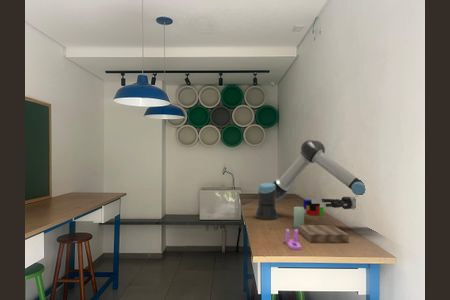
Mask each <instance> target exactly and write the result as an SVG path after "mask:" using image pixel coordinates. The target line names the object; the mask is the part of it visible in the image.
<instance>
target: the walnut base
mask: <svg viewBox="0 0 450 300" xmlns="http://www.w3.org/2000/svg"><path fill="white" fill-rule="evenodd" d="M297 229H298V234H300V235H301V236H302V237H303V238H304V239H305V240H306V241H308V242H309V243H350V242H349V240H350V239H349V238H350V236H349V235H350V234H349V233H347V232H345V231H343V230H342V229H340V228H338V227H336V226H335V225H333V224H309V225H308V224H304V225H298V228H297Z"/></svg>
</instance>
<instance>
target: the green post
mask: <svg viewBox="0 0 450 300" xmlns="http://www.w3.org/2000/svg"><path fill="white" fill-rule="evenodd" d="M298 225H305V213H304V206H294V207H293V228H294V229H298Z"/></svg>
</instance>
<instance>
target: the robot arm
mask: <svg viewBox="0 0 450 300" xmlns="http://www.w3.org/2000/svg"><path fill="white" fill-rule="evenodd" d="M314 163H315V164H317V165H319V166H320V167H321V168H322V169H324V170H325V171H326V172H328V173H329V174H330V175H332V176H333V177H334V178H336V179H337V180H338V181H340V182H341V183H342V184H343V185H345V186H346V187H348V188H349V189H350V190H351V192H352V193H353V194H354V195H356V196H358V195H363V194H364V193H365V190H366V189H365V185H364V183H363V182H362V181H361V180H359V179H358V178H359V177H357V176H355V175H354V174H353V173H351V172H350V171H348V169H346V168H345V167H343V166H342V165H341V164H339V163H338V162H337V161H335V160H334V159H333V158H331V157H330V156H328V155H327V154H326V147H325V145H324V143H322V142H321V141H320V140H313V139H312V140H311V139H308V140H306V141H304V142H302V145H301V146H300V156H298V157H297V158H296V160H295V161H294V162H293V163H292V164H291V165H290V166H289V168H288V169H287V170H286V171H285V172H284V173H283V174H282V175H281V177H279V178H276V179H275V180H274V181H273V182H264V183H260V184H259V185H258V190H257V191H258V192H257V194H258V196H257V197H258V200H257V201H258V206H257V208H256V212H255V218H256V219H260V220H270V221H271V220H276V219H279V218H278V212H277V208H276V201H278V200H279V201H280V200H281V199H283V198H285V196H286V195H287V192H288V191H289V188H290V186H291V184H293V183H294V182H295V180H297V178H298V177H299V176H300V175H301V174H302V173H303V172H304V171H305V170H306V169H307V167H309V165H310V164H314ZM356 196H342V197H341V198H340V199H339V198H336V199H335V198H311V199H312V204H320V207H323V208H334V209H337V208H338V209H339V208H342V209H344V210H354V209H355V208H356V199H355V197H356ZM355 210H356V209H355Z"/></svg>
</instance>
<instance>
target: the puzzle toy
mask: <svg viewBox="0 0 450 300" xmlns="http://www.w3.org/2000/svg"><path fill="white" fill-rule="evenodd" d="M312 199H313V198H311V199H303V207H304V215H305V214H306V215H308V214H309V215H308V216H312V215H315V216H323V215H324V207H320V204H312Z"/></svg>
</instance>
